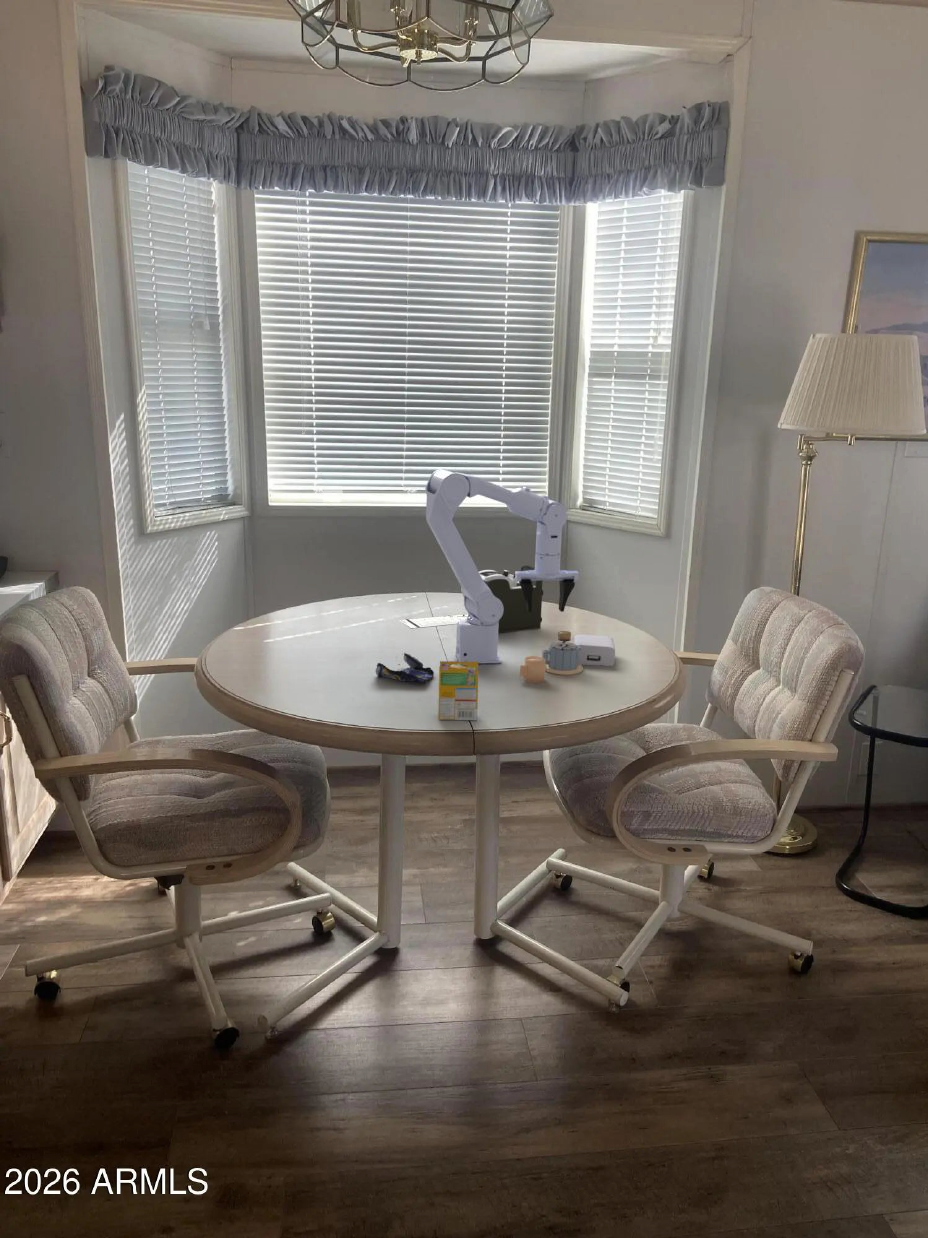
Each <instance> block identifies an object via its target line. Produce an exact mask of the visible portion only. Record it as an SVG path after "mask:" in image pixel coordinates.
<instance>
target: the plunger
mask: <svg viewBox="0 0 928 1238" xmlns="http://www.w3.org/2000/svg"><path fill="white" fill-rule="evenodd" d="M571 638H572V632H570V631H569V630H568V631H567V630H560V631H558V634H557V640H558V642H562V646H563V647H565V645H566V642H571Z"/></svg>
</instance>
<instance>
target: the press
mask: <svg viewBox="0 0 928 1238" xmlns="http://www.w3.org/2000/svg"><path fill="white" fill-rule="evenodd" d="M562 642H563V641H557V642H556V641H554V642H552V643H551V644H549V645H548V649H542V650H541V657H543V658H545V659H546V666H545V672H547V673H550V674H553V675H560V676H571V675H578V674H581V673H582V672H583V670H584V668H583V666H584V665H583V664H578V652H579V650H581V647H580V646H577V645H576V644H574V642H571V641H566V645H565V647H563V646H562Z"/></svg>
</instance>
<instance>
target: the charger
mask: <svg viewBox="0 0 928 1238" xmlns="http://www.w3.org/2000/svg"><path fill="white" fill-rule="evenodd" d="M573 644H576V645H577V646H580V647H581V650H579V652H578V664H580V665H585V664H587V666H600V665H604V666H605V667H613V666H614V664H615V659H616V658H615V656H616V648H615V643H614V638H613V637H611V636H609V635H608V636H607V635H597V634H596V635H593V634H576V635H575V636H573ZM604 666H603V667H604Z"/></svg>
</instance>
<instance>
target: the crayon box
mask: <svg viewBox="0 0 928 1238" xmlns="http://www.w3.org/2000/svg"><path fill="white" fill-rule="evenodd" d="M458 664H459V665H462V666H457V665H458ZM478 693H479V663H478V662H461V661H459V660H458V661H456V660H455V661H451V660H450V661H449V660H448V661H445V660H444V661H443V660H440V661H439V668H438V711H437V712H438V714H437V715H438V717H437V718H438V721H449V720H450V721H475V722H476V721H477V720H478V703H479V702H478V700H479V699H478V698H479V694H478Z"/></svg>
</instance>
